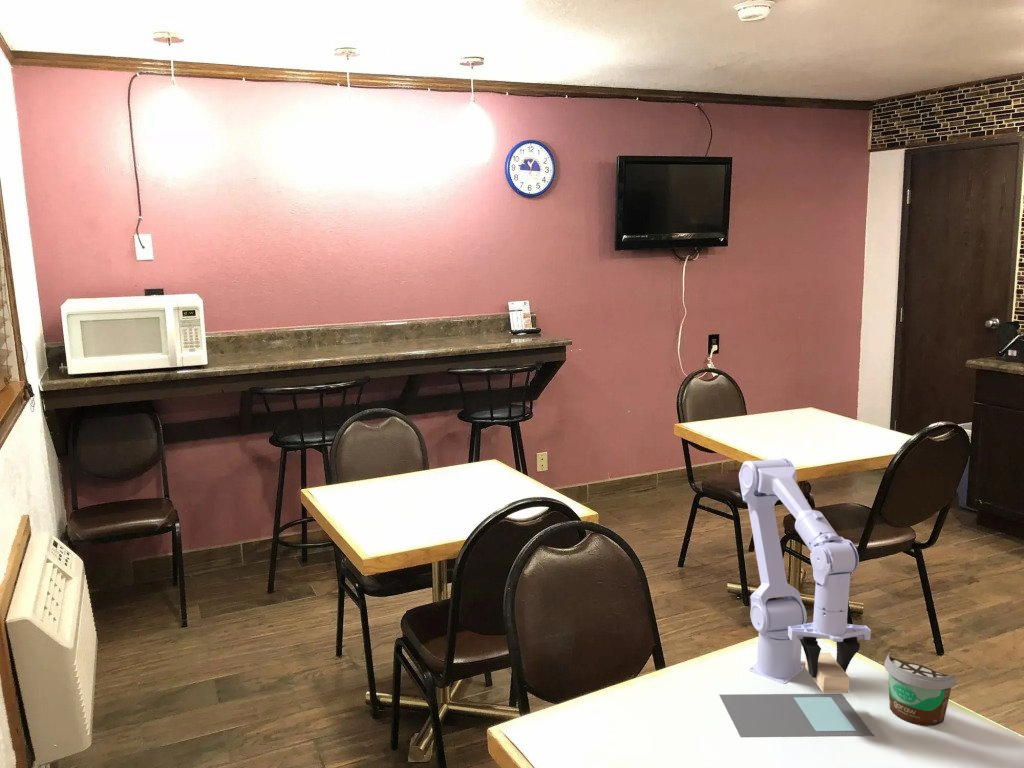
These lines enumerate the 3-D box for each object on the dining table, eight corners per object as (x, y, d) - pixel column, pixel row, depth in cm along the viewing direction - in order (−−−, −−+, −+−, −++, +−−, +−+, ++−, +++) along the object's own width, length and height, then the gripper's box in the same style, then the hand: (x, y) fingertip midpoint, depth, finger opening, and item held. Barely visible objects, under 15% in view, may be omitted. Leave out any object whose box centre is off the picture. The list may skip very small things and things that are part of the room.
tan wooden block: (805, 667, 154) (806, 652, 154) (828, 667, 154) (829, 652, 154) (823, 692, 146) (824, 677, 145) (848, 692, 146) (849, 677, 145)
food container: (871, 712, 153) (875, 662, 151) (882, 699, 157) (886, 650, 156) (942, 738, 144) (947, 686, 143) (952, 724, 149) (957, 673, 147)
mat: (841, 695, 158) (841, 693, 158) (874, 738, 144) (874, 735, 144) (719, 696, 158) (719, 694, 158) (740, 739, 144) (740, 736, 144)
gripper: (799, 615, 144) (795, 686, 146) (880, 614, 144) (875, 685, 146) (785, 598, 151) (781, 666, 153) (862, 598, 151) (857, 666, 153)
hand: (826, 674), depth 150 cm, fingers closed on tan wooden block, 4 cm apart
